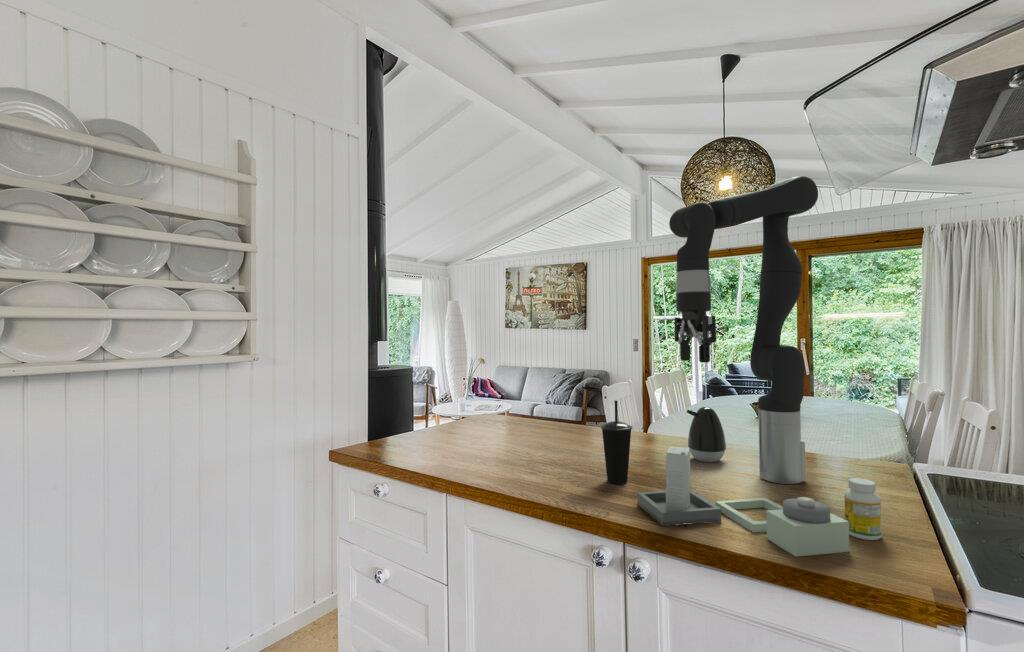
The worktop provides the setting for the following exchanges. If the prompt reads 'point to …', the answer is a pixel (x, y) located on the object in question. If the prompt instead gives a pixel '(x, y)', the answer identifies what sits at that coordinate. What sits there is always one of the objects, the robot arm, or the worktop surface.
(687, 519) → the tray
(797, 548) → the soap dish box
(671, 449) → the skincare box
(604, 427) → the drinking cup
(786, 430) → the robot arm
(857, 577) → the worktop surface
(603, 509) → the worktop surface
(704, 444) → the pump dispenser
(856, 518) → the supplement bottle
